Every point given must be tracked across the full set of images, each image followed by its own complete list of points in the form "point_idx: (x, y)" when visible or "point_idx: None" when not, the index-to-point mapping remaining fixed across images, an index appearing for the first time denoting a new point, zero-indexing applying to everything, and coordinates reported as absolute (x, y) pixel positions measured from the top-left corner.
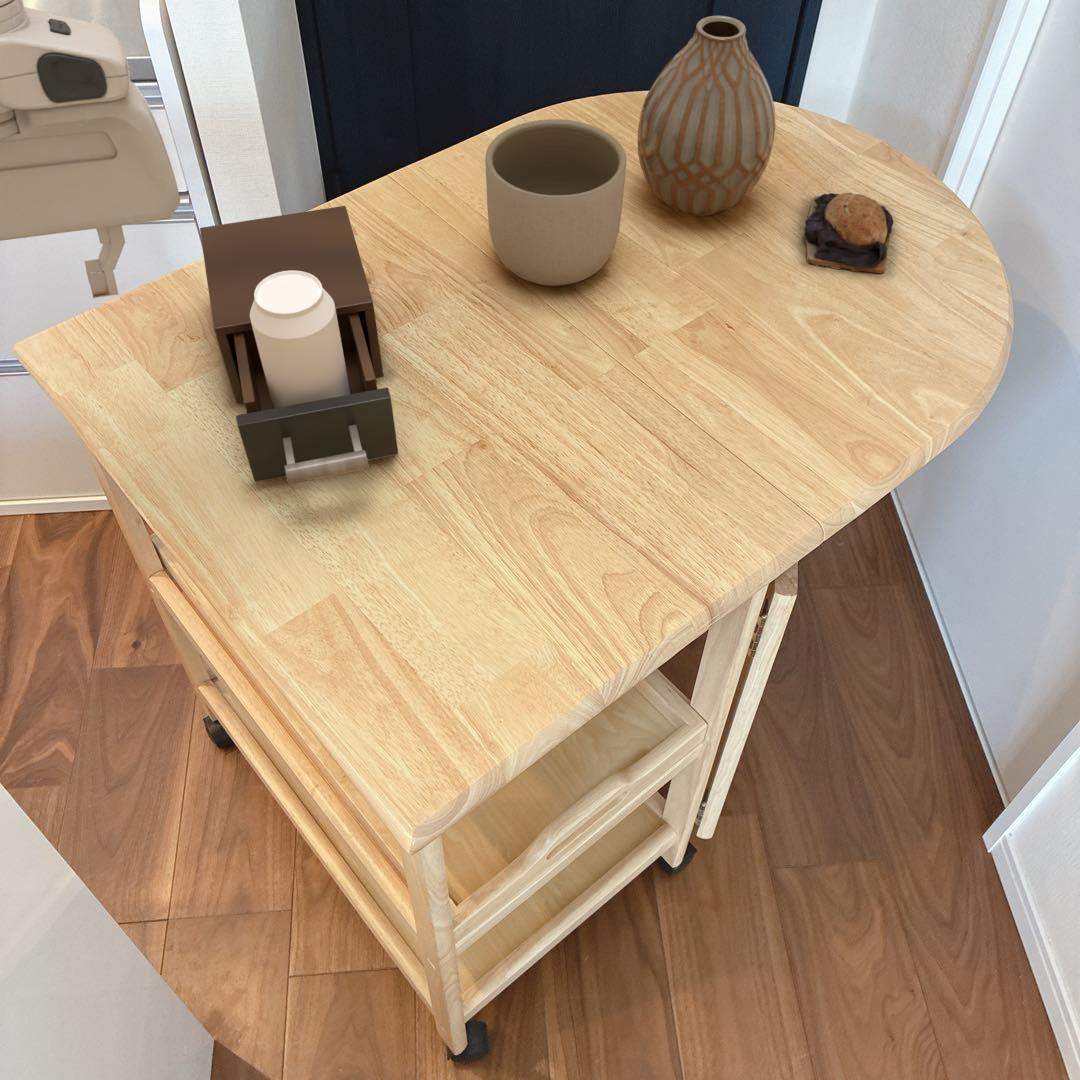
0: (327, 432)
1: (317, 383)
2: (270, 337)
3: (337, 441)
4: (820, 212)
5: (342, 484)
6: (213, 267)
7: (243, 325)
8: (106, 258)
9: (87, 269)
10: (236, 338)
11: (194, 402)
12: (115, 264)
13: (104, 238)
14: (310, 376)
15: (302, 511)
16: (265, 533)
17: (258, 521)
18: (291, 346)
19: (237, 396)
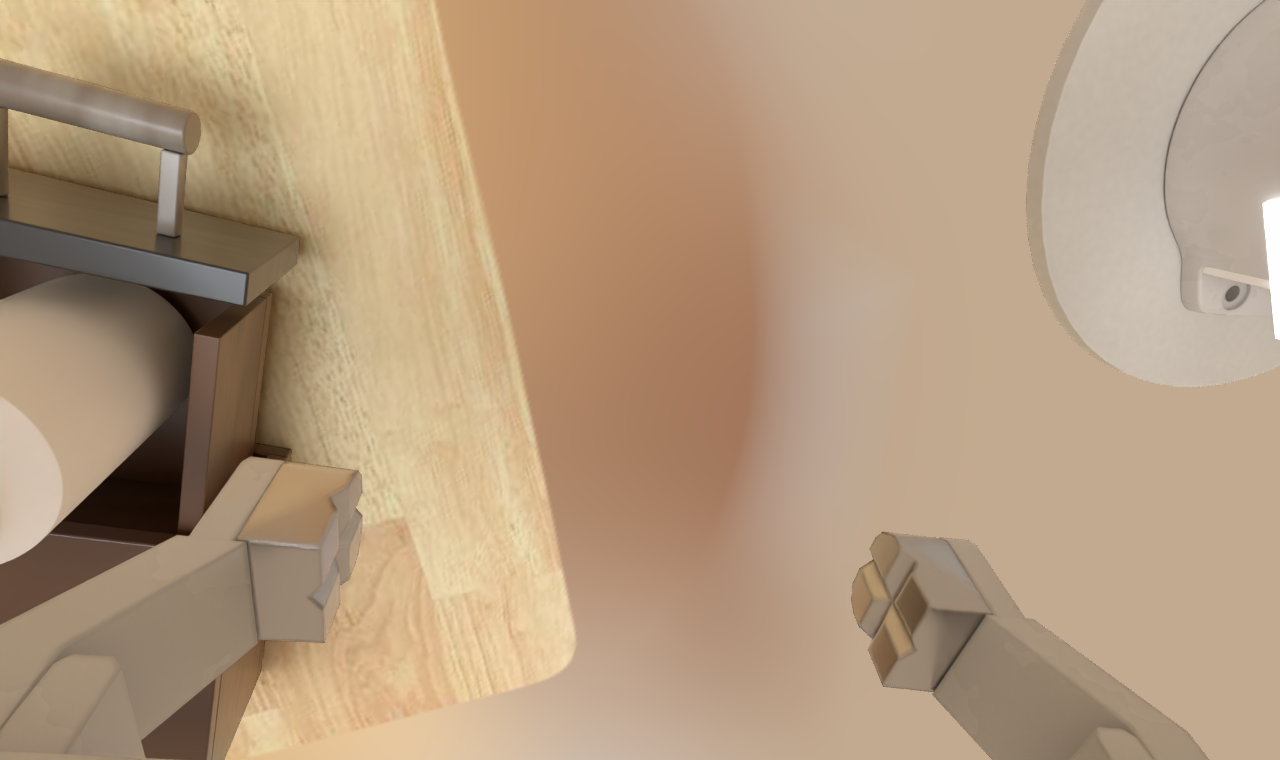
0: (64, 210)
1: (9, 307)
2: (13, 402)
3: (62, 200)
4: None
5: (128, 160)
6: (192, 714)
7: (160, 542)
8: (164, 583)
9: (315, 580)
10: (196, 524)
11: (364, 479)
12: (149, 551)
13: (69, 686)
14: (6, 316)
15: (230, 135)
16: (318, 121)
17: (323, 158)
18: None
19: (281, 455)
